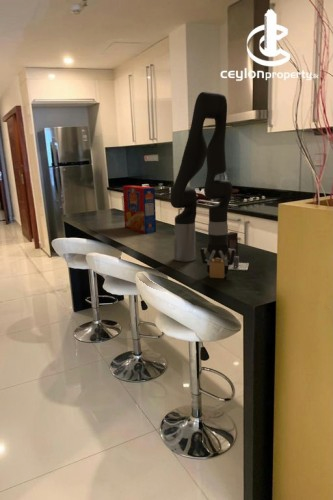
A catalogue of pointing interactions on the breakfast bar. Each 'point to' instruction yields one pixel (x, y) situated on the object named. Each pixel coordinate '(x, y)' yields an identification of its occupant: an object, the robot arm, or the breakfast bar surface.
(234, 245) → the box
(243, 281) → the breakfast bar surface
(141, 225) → the pasta box
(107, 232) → the breakfast bar surface
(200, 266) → the breakfast bar surface
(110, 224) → the breakfast bar surface
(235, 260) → the square plate with peg
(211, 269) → the orange toy brick
